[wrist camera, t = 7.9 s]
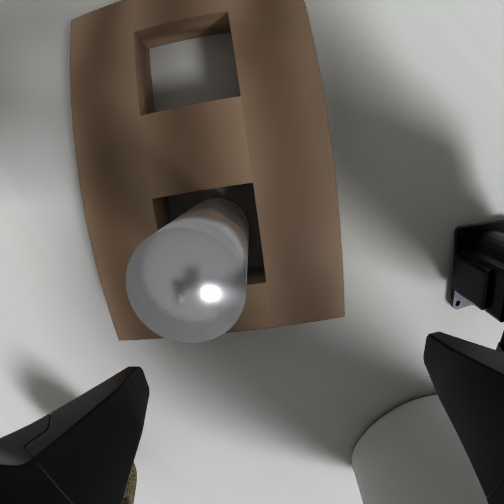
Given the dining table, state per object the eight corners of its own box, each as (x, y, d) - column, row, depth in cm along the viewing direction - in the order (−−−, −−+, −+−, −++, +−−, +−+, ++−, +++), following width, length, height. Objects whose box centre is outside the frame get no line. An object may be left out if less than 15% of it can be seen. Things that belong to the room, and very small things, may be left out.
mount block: (290, -7, 15) (296, -29, 12) (332, 296, 21) (344, 316, 18) (91, 34, 16) (71, 20, 13) (133, 319, 21) (118, 340, 18)
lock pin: (244, 193, 19) (236, 218, 9) (253, 256, 20) (254, 337, 10) (180, 203, 19) (113, 237, 9) (191, 264, 20) (142, 346, 10)
